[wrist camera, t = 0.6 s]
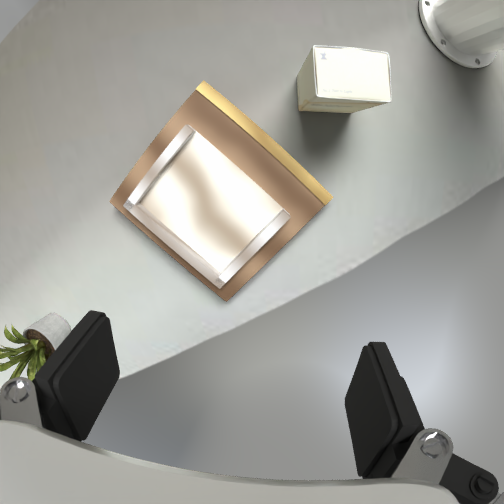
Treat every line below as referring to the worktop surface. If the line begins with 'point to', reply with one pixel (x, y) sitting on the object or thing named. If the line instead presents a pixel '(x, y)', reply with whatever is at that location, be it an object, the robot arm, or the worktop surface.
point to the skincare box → (343, 79)
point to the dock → (218, 192)
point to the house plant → (35, 344)
